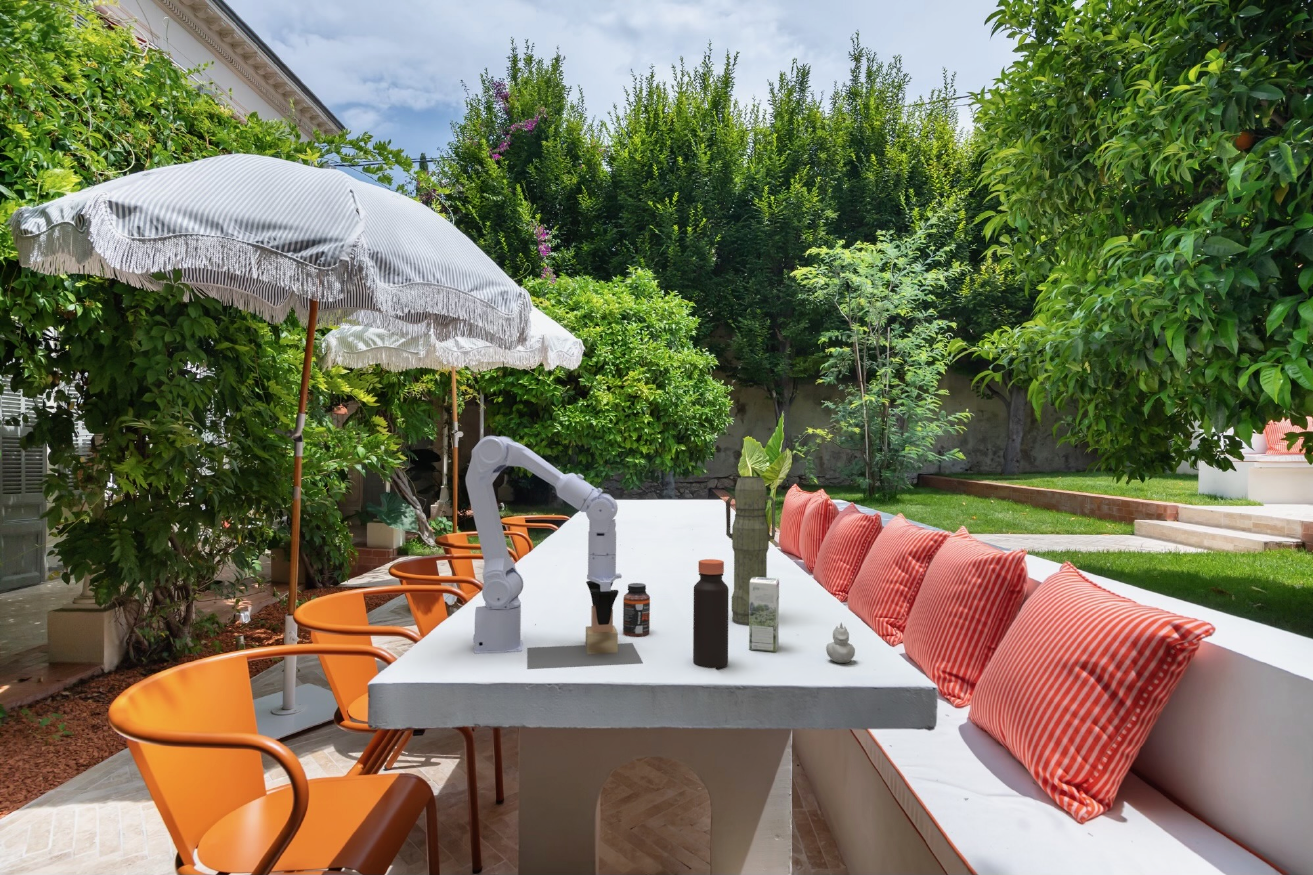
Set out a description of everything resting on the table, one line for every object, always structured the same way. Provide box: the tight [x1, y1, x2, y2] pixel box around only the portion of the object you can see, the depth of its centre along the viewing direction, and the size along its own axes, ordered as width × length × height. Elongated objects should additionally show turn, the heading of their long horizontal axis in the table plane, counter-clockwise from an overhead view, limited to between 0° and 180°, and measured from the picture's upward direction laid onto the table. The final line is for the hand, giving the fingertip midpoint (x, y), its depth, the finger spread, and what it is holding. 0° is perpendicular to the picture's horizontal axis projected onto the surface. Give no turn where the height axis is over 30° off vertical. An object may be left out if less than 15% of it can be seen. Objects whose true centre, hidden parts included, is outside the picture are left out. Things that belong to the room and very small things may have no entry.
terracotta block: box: [590, 605, 614, 633], centre depth 145 cm, size 4×4×4 cm
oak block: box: [585, 624, 619, 654], centre depth 145 cm, size 6×6×4 cm
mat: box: [526, 642, 644, 670], centre depth 140 cm, size 22×14×1 cm, turn 100°
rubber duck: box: [825, 621, 856, 664], centre depth 139 cm, size 5×7×8 cm
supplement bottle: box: [622, 582, 651, 638], centre depth 157 cm, size 6×6×11 cm
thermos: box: [725, 475, 776, 627], centre depth 170 cm, size 9×12×35 cm
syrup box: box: [748, 577, 780, 653], centre depth 148 cm, size 6×6×14 cm
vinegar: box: [692, 558, 729, 670], centre depth 137 cm, size 7×7×20 cm
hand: (601, 619), depth 145 cm, fingers open, 7 cm apart
